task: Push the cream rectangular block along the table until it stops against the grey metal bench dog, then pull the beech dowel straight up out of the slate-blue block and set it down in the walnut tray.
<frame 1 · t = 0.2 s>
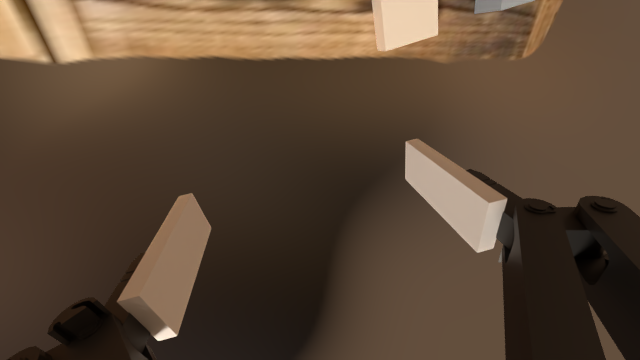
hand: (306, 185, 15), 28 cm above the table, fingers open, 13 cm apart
cream rectangular block: (398, 4, 35), on the table
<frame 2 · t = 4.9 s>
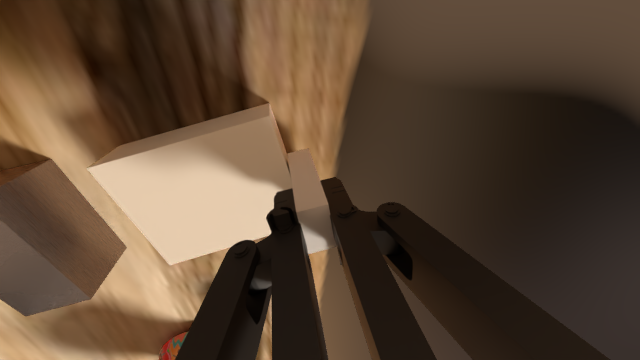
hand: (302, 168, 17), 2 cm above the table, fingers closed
cream rectangular block: (222, 173, 18), on the table
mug: (205, 349, 28), on the table
bench dog: (64, 215, 17), on the table
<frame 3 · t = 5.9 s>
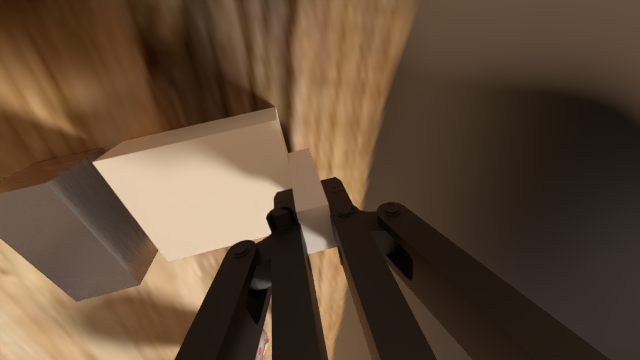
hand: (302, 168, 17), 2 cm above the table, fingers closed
cream rectangular block: (224, 173, 18), on the table
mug: (230, 340, 29), on the table
bench dog: (109, 204, 17), on the table
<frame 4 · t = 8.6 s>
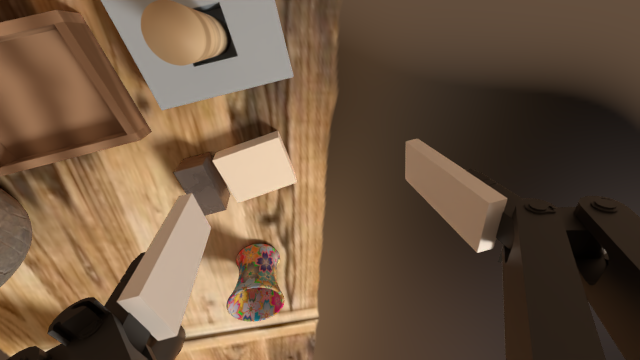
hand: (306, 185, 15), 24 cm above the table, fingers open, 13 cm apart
cream rectangular block: (258, 162, 40), on the table
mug: (258, 260, 50), on the table
tray: (47, 97, 30), on the table
dowel: (213, 36, 29), point 1 cm above the table, touching dowel block
bench dog: (208, 177, 39), on the table
dowel block: (215, 36, 30), on the table
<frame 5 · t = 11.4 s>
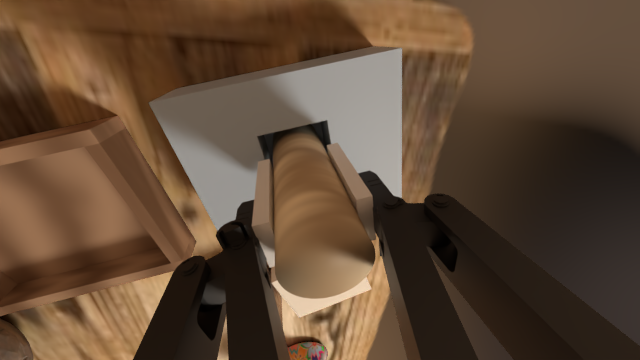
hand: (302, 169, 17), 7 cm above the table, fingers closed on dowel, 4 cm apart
cream rectangular block: (319, 263, 32), on the table
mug: (300, 354, 42), on the table
tray: (63, 212, 22), on the table
dowel: (295, 141, 21), point 1 cm above the table, touching dowel block, gripper
dowel block: (294, 137, 22), on the table
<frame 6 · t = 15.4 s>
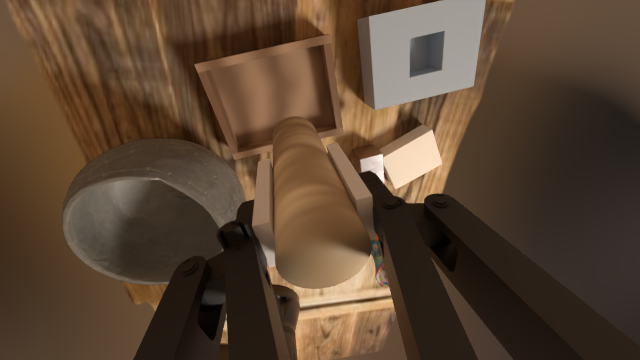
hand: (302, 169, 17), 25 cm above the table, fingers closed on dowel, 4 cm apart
cream rectangular block: (403, 153, 48), on the table
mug: (376, 238, 58), on the table
tray: (277, 97, 38), on the table
dowel: (295, 138, 22), point 19 cm above the table, touching gripper
bench dog: (364, 165, 47), on the table
bowl: (187, 179, 43), on the table
dowel block: (409, 53, 38), on the table
when the fingers open (8 cm above the table, at t = 19.2 s): dowel drops 2 cm, resting on tray.
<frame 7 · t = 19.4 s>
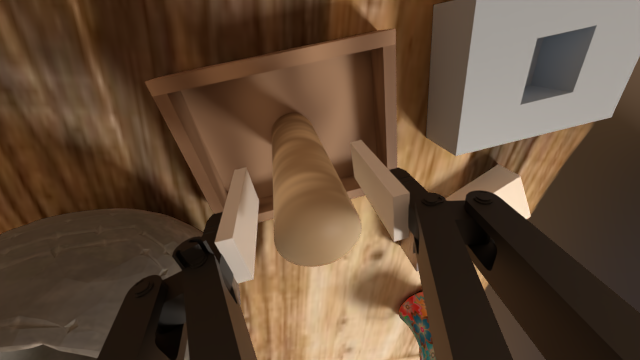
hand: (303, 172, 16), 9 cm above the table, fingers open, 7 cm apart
cream rectangular block: (469, 204, 34), on the table
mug: (415, 305, 44), on the table
tray: (293, 131, 24), on the table
dowel: (293, 134, 23), point 1 cm above the table, touching tray
bench dog: (414, 221, 33), on the table
bowl: (152, 250, 28), on the table
dowel block: (505, 62, 24), on the table
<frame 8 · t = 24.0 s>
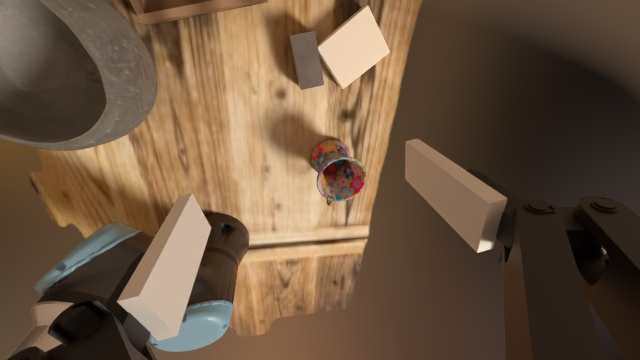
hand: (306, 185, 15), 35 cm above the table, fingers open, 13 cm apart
cream rectangular block: (348, 49, 44), on the table
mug: (328, 161, 54), on the table
bench dog: (304, 59, 43), on the table
bowl: (97, 60, 38), on the table
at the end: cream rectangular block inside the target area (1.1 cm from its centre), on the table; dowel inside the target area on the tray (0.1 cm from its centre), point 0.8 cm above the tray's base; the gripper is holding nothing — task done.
